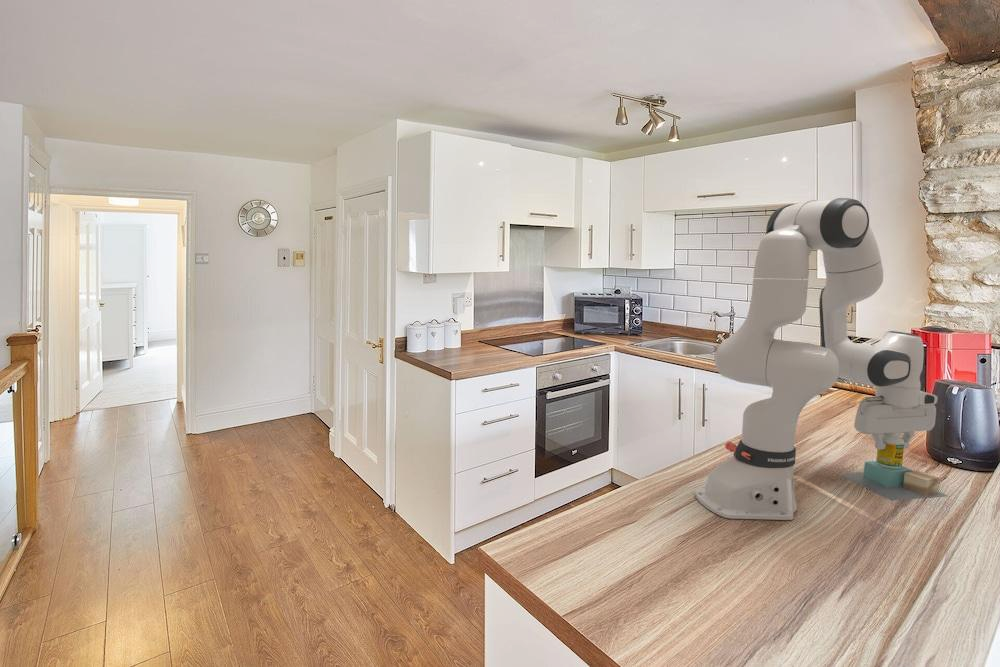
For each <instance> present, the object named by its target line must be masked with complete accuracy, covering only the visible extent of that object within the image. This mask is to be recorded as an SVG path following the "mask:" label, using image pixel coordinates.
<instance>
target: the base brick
mask: <svg viewBox="0 0 1000 667" xmlns="http://www.w3.org/2000/svg"><path fill="white" fill-rule="evenodd" d="M910 471H914V470H913V469H911V468H908V467H905V466H903V465H902V467H901V468H900V469H890V468H885V467H882V466H880V465H878V464H877V462H876V460H869V461H864V465H863V472H864V474H863V476H864V477H866V478H868V479H871V480H873V481H875V482H877V483H879V484H881V485H883V486H886V487H897V486H903V483H904V474H905V473H906V472H910Z"/></svg>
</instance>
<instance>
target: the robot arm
mask: <svg viewBox="0 0 1000 667" xmlns="http://www.w3.org/2000/svg"><path fill="white" fill-rule="evenodd" d="M877 242H878V241H877V240H876V237H875V234H874V232H873V230H872V227H871V226H870V216H869V213H868V210H867V208H866V207H865V206H864V204H862V202H861V201H859V200H858V199H855V198H849V197H838V198H837V197H836V198H835V199H812V200H811V199H810V200H806V201H802V202H798V203H791V204H786V205H784V206H781V207H778V209H776V210H775V211H773V212H772V213H771V215H770V217H769V218H768V222H767V224H766V232H765V234H764V235H763V237H762V238H761V240H760V242H759V246H758V249H757V253H756V257H755V261H754V262H755V263H754V268H753V277H752V287H751V297H750V304H749V308H748V312H747V315H746V318H745V319H744V322H743V323H742V325H741V326H740V327H739V328H738V330H736V331H735V332H734V333H733V334H732V335H730V336H729V337H727V338H725V339H723V341H722V342H721V343H720V344H719V345H718V346H717V349H716V351H715V354H714V364H715V367H716V369H717V371H718V373H719V375H721V377H723V378H727V379H729V380H731V381H735V382H738V383H742V384H748V385H754V386H755V385H756V386H762V387H768V388H771V389H772V393H771V396H770V397H767V398H765V399H761V400H758V401H755V402H752V403H750V404H749V405H747V407H746V408H745V409H744V411H743V415H742V429H741V438H740V440H739V441H738V444H737V445H736V444H735V443H734V442H732V441H727V442H726V443H725V444H724V448H725V449H726V450H727V451H729V452H731V453H733V455H732V456H731V457H730V458H728V459H727V460H725V461H723V463H721V464H720V465H718V466H717V467H716V468H714V469H712V470H711V471H710V472H709V473H708V476H707V478H706V481H705V482H706V483H705V486H704V487H699V488H696V489H695V491H694V496H695V499H696V500H697V501H698V502H699V503H700V504H701V505H702V506H703V507H704V508H706V509H708V510H709V511H711V512H712V513H714V514H715V515H718V516H720V517H722V518H725V519H731V520H732V519H733V520H734V519H736V520H737V519H738V520H739V519H741V520H771V521H772V520H775V521H776V520H777V521H778V520H781V521H791V520H793V519H794V513H795V512H797V510H798V504H797V501H796V496H795V488H794V465H795V464H796V456H797V455H796V454H797V452H796V451H797V450H796V447H795V442H796V441H795V439H796V432H797V426H798V422H799V418H800V415H801V413H802V411H803V410H804V408H805V406H806V405H807V404H808V403H809V402H810V401H811V400H812V399H814V398H815V397H817V396H819V395H820V394H823V393H824V392H827V391H828V390H830V389H831V388H832V387H833V386H834V385H835V384H836V382H837V381H838V380H843V381H850V382H855V383H858V384H863V385H866V386H867V385H869V386H872V387H875V394H874V396H866V397H864V398H863V399H862V400H861V401H860V402H859V403H858V407H857V410H856V414H855V418H854V425H853V426H854V429H855V430H856V431H857V432H859V433H861V434H864V435H871V436H872V439H873V440H874V448H875V449H876V450H877V449H879V450H884V449H886V443H884V442H883V440H882V437H884V433H896V432H902V436H901V438H902V439H903V440H904V449H908V448H909V446H910V442H911V441H912V439H913V438H914V436H915V432H924V431H925V432H927V431H928V432H929V431H932V430H933V429H934V427H935V425H936V418H937V407H936V406H935V405H936V404H937V403H938V399H939V398H938V395H936V394H933V393H928V392H926V391H923V390H921V387H922V384H921V380H920V379H921V378H920V377H921V374H922V372H923V367H924V355H925V354H924V353H925V352H924V350H925V349H924V348H925V347H924V343H923V342H924V341H923V339H922V337H920V336H919V335H917V334H914V333H910V332H902V331H895V330H891V331H890V330H889V331H885V332H884V334H883V338H881V339H880V340H879V341H877V342H875V343H872V344H871V345H868V344H861V343H856V342H853V341H852V340H850V338H849V336H848V328H847V326H848V325H847V324H848V322H847V311H848V307H849V306H851V305H854V304H856V303H860V302H861V301H864V300H867V299H868V298H870V297H873V295H875V293H877V292H878V291H879V289H880V288H881V287H882V285H883V282H884V269H883V268H884V267H883V264H882V258H881V253H880V250H879V245H878V243H877ZM818 250H819V251H821V252H822V259H823V266H824V272H825V280H826V281H825V286H824V287H823V288H822V289H821V291H820V295H819V300H818V301H819V326H820V327H819V328H820V345H818V344H814V343H810V342H802V341H792V340H781V339H780V340H779V339H775V333H776V331H777V330H778V328H781V327H785V326H787V325H790V324H793V323H795V322H797V321H798V320H800V319H801V318H803V316H804V314H805V312H806V311H807V302H808V301H807V299H808V285H809V277H810V276H809V274H810V273H809V272H810V262H809V261H810V258H809V257H810V255H811V253H812V252H813V251H818Z"/></svg>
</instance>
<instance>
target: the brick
mask: <svg viewBox="0 0 1000 667" xmlns="http://www.w3.org/2000/svg"><path fill="white" fill-rule="evenodd" d="M940 482H941V477H940V476H938V475H934V474H931V473H928V472H925V471H922V470H919V469H915V470H913V471H910V472H906V473H905V474H904V483H903V488H904V489H907V490H910V491H912V492H915V493H918V494H921V495H923V496H929V495H933V494H936V493H938V491H939V492H940Z"/></svg>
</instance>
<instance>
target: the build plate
mask: <svg viewBox="0 0 1000 667" xmlns="http://www.w3.org/2000/svg"><path fill="white" fill-rule="evenodd" d="M863 474H864V471H861V472H846V473H844V472H842V473H838V475H839V476H841V477H843V478H845V479H847V480H849V481H851V482H853V483H855V484H857V485H858V486H859V485H860V486H861V487H863V488H865V489H867V490H869V491H872V492H874V493H875V494H877V495H879V496H881V497H883V498H886V499H888V500H890V501H891V502H892V501H893V502H894V501H907V500H920V499H921V500H922V499H931V498H933V499H934V498H947V497H949V495H947V494H945V493H943V492H942V491H940V490H939V491H938V493H936V494H933V495H929V496H923V495H921V494H918V493H915V492H912V491H910V490H907V489H904V488H903V486H897V487H886V486H883V485H881V484H879V483H877V482H875V481H873V480H871V479H868V478H866V477H864V476H863Z"/></svg>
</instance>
